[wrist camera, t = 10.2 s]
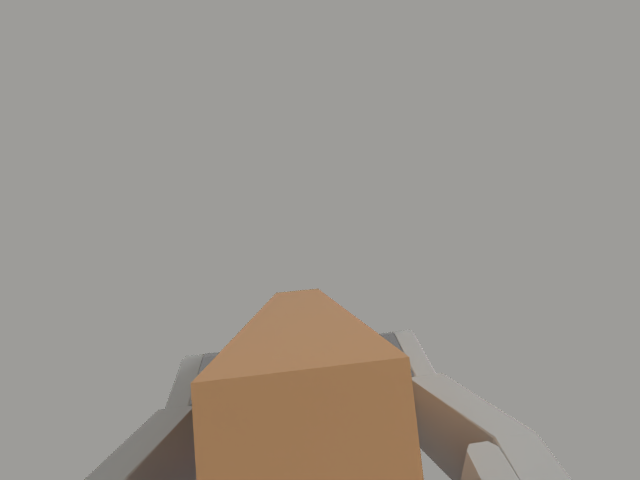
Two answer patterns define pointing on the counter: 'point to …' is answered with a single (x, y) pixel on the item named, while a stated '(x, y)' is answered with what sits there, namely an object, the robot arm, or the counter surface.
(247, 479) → the bar
